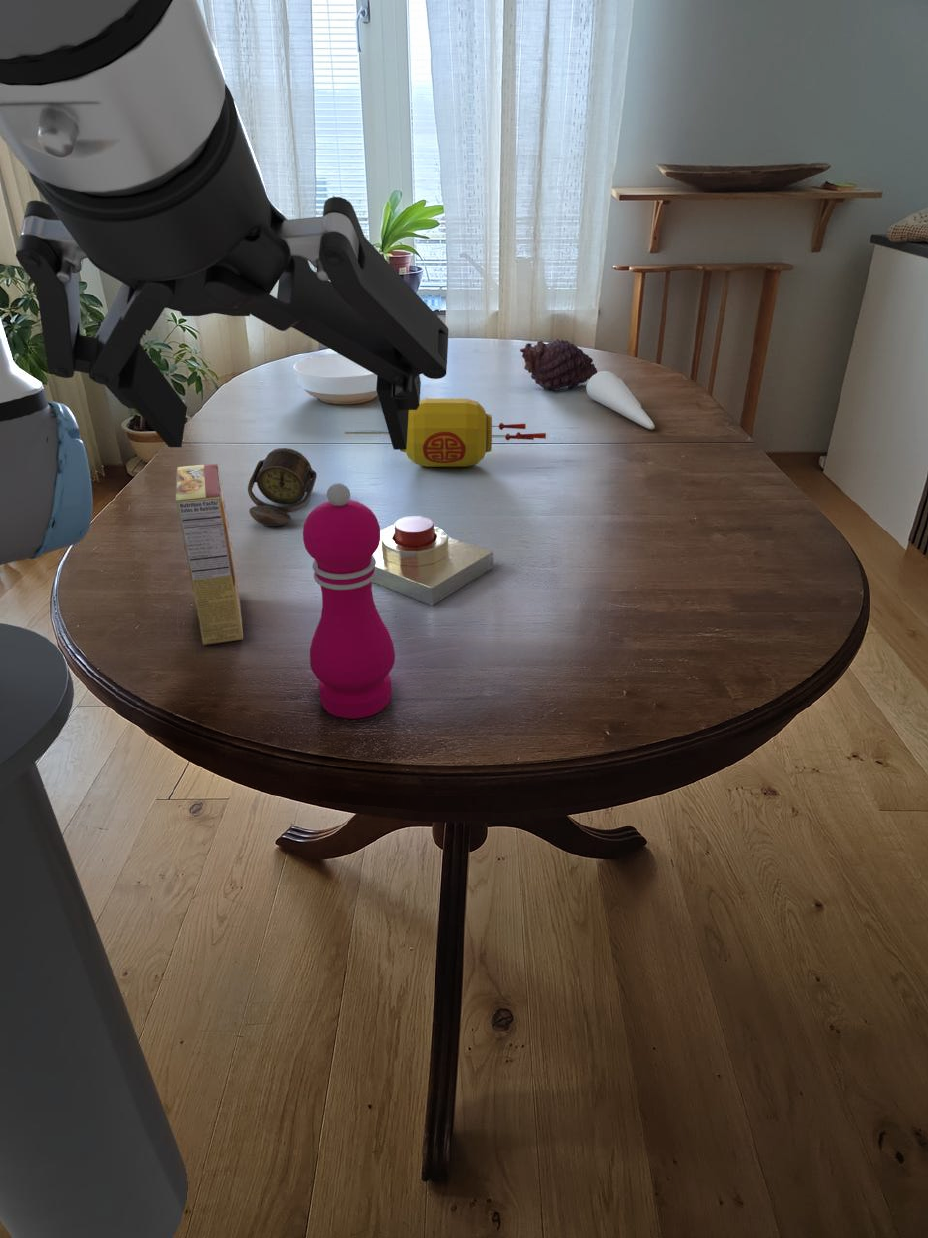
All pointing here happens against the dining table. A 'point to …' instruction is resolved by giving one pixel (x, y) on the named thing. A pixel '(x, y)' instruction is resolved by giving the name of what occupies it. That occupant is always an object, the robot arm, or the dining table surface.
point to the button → (414, 531)
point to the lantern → (451, 433)
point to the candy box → (209, 552)
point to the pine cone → (557, 364)
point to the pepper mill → (348, 608)
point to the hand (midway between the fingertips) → (289, 428)
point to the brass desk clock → (281, 485)
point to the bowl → (335, 379)
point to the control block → (429, 566)
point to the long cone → (617, 397)
